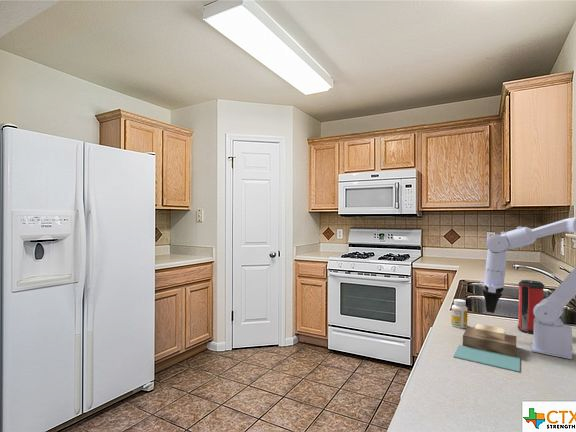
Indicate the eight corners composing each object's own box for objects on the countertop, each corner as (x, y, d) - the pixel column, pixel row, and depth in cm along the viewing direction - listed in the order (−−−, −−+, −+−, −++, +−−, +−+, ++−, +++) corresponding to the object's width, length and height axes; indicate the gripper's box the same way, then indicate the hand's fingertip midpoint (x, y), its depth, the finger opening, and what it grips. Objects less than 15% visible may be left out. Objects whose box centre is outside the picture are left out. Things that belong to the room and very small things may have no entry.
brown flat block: (516, 347, 109) (516, 336, 109) (515, 357, 100) (516, 345, 100) (466, 337, 117) (467, 327, 117) (462, 346, 108) (462, 335, 108)
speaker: (543, 336, 119) (544, 284, 119) (516, 331, 124) (518, 281, 124) (543, 330, 125) (544, 281, 125) (518, 326, 130) (519, 278, 130)
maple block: (505, 334, 110) (505, 328, 110) (504, 340, 105) (504, 333, 105) (476, 329, 114) (476, 323, 114) (474, 334, 109) (474, 328, 109)
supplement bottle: (463, 324, 131) (464, 298, 131) (469, 328, 126) (470, 302, 126) (449, 323, 132) (449, 298, 132) (454, 328, 126) (455, 301, 126)
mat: (519, 358, 100) (519, 357, 100) (519, 372, 91) (519, 371, 91) (459, 345, 109) (459, 344, 109) (453, 357, 100) (453, 356, 100)
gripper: (483, 265, 124) (479, 302, 125) (479, 270, 112) (475, 311, 113) (506, 268, 120) (502, 306, 121) (504, 274, 109) (500, 317, 109)
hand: (491, 309), depth 117 cm, fingers open, 7 cm apart
